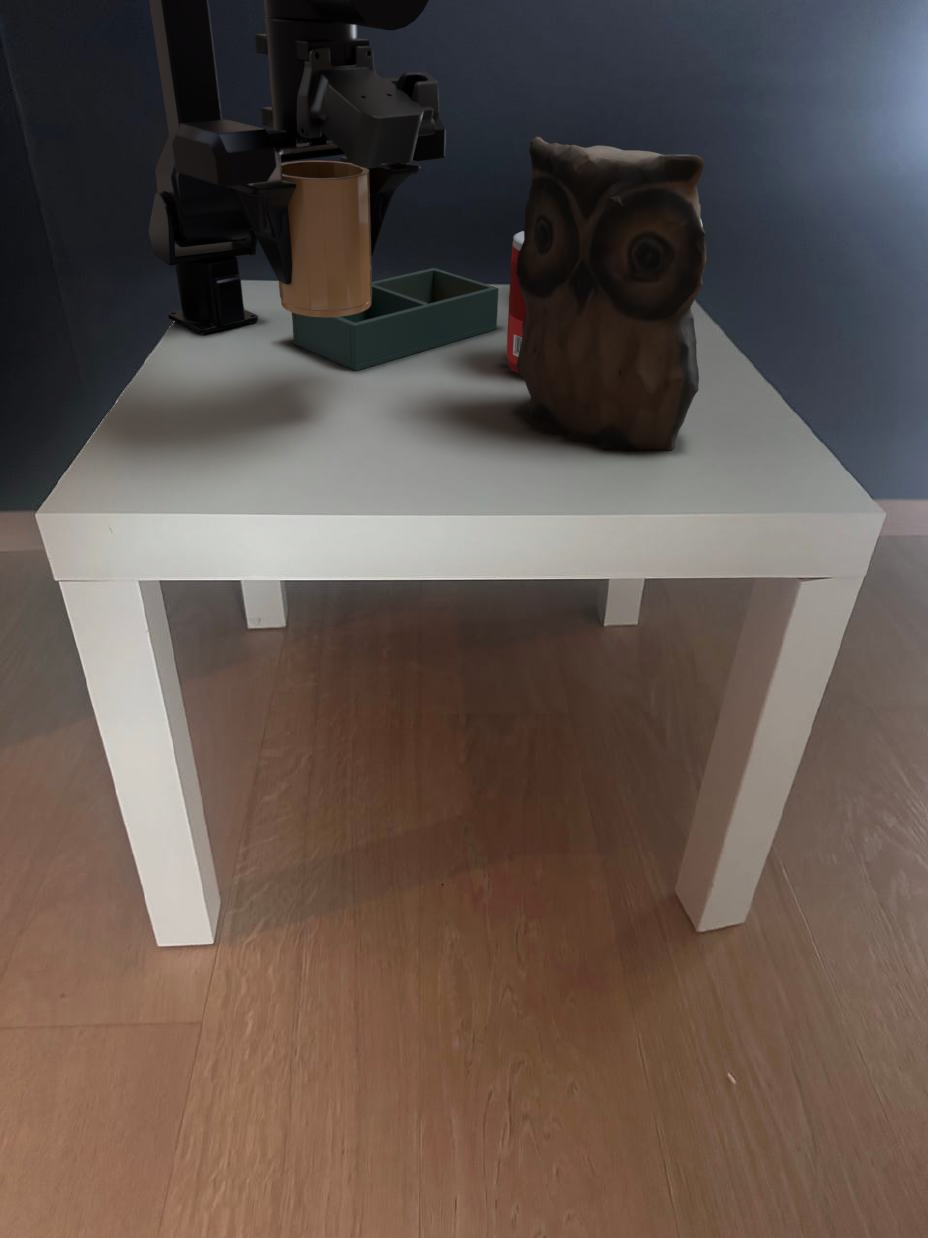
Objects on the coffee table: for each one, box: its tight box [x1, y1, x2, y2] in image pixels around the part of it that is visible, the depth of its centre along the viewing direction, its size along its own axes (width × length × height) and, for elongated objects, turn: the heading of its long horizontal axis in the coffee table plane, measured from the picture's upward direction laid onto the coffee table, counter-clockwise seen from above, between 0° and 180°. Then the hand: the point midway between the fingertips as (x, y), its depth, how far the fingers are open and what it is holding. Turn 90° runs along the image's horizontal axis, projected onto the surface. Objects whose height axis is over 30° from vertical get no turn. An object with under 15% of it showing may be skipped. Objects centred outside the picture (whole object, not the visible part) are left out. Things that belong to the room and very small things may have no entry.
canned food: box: [505, 230, 526, 375], centre depth 80 cm, size 8×8×11 cm
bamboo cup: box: [278, 160, 373, 317], centre depth 65 cm, size 7×7×9 cm
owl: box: [516, 136, 707, 452], centre depth 67 cm, size 13×13×20 cm
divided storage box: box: [291, 267, 499, 371], centre depth 87 cm, size 9×18×4 cm, turn 134°
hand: (324, 274), depth 67 cm, fingers closed on bamboo cup, 6 cm apart
